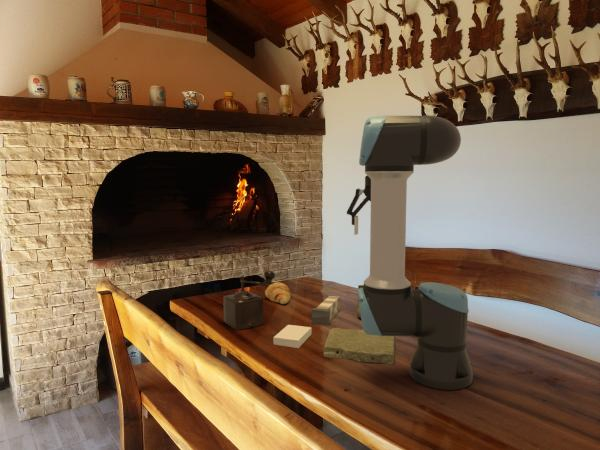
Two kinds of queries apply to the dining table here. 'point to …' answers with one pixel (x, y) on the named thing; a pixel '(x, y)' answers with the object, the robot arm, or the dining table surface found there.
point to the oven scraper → (326, 311)
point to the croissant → (278, 293)
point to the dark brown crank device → (245, 305)
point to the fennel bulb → (358, 303)
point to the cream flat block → (292, 336)
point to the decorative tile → (359, 346)
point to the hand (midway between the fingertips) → (375, 235)
